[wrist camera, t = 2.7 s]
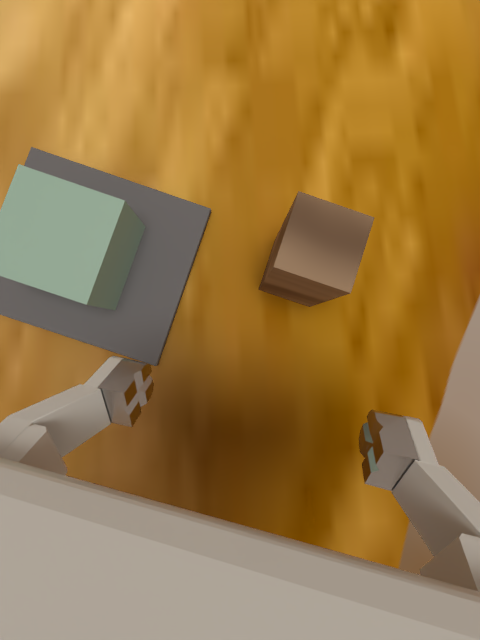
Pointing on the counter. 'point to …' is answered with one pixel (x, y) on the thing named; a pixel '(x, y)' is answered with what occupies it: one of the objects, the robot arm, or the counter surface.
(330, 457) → the counter surface
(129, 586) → the robot arm
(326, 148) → the counter surface
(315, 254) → the walnut block
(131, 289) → the mat
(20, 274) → the sage brick
